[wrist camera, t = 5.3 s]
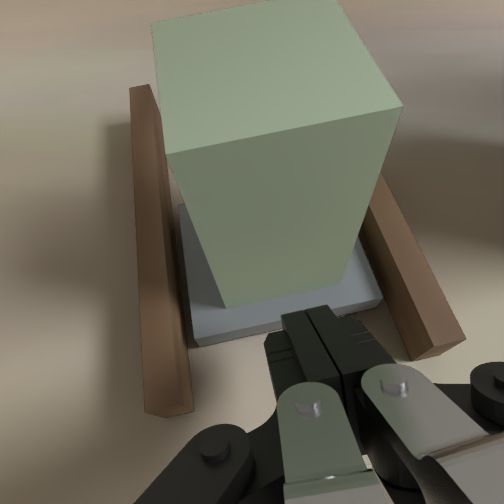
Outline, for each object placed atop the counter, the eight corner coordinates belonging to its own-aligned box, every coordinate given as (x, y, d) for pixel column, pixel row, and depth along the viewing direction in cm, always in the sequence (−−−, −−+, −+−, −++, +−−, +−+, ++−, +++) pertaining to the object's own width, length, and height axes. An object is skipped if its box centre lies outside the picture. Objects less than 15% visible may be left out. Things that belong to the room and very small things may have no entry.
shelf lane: (315, 87, 24) (318, 50, 21) (439, 355, 15) (466, 339, 13) (143, 121, 23) (129, 88, 21) (165, 417, 14) (144, 412, 12)
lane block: (328, 188, 19) (368, -38, 10) (376, 307, 16) (499, 124, 7) (183, 218, 19) (96, 13, 10) (200, 346, 15) (90, 208, 7)
